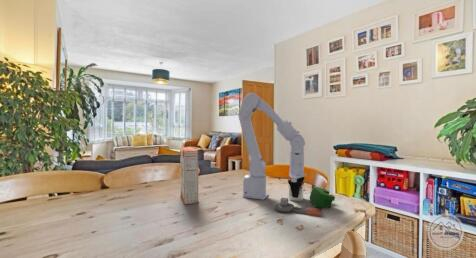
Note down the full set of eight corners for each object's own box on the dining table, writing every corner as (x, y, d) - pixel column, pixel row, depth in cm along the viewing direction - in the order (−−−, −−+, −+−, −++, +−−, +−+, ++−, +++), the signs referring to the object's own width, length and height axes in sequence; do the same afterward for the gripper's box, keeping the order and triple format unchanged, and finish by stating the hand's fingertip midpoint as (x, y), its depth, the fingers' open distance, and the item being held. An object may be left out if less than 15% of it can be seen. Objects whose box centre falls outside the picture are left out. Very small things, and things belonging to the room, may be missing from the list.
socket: (289, 199, 105) (289, 187, 105) (291, 196, 110) (291, 185, 109) (301, 201, 103) (301, 189, 103) (303, 198, 108) (303, 186, 108)
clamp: (328, 219, 96) (337, 201, 92) (312, 215, 96) (321, 196, 92) (322, 198, 107) (330, 181, 103) (308, 194, 107) (316, 177, 103)
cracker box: (179, 195, 110) (179, 147, 110) (193, 193, 112) (193, 146, 112) (182, 205, 97) (183, 150, 96) (198, 203, 99) (198, 150, 98)
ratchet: (272, 211, 91) (272, 200, 91) (277, 205, 98) (277, 195, 97) (320, 218, 85) (321, 206, 85) (322, 211, 92) (322, 200, 91)
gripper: (304, 166, 98) (303, 201, 98) (308, 161, 111) (308, 192, 111) (286, 165, 100) (285, 199, 101) (292, 160, 114) (291, 190, 114)
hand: (296, 195), depth 106 cm, fingers closed on socket, 5 cm apart
